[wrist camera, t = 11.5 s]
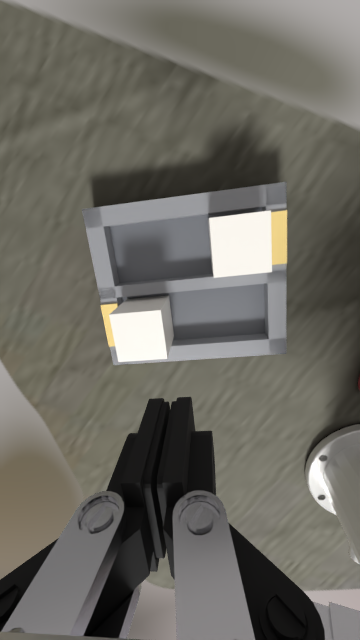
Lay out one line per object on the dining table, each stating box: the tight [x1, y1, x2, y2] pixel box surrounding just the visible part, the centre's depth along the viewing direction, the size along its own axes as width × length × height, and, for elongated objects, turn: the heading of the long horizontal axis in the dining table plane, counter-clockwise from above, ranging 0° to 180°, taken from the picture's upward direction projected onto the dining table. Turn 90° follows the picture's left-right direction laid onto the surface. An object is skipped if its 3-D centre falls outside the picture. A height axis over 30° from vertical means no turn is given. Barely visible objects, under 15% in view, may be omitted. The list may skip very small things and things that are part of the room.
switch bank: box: [82, 182, 287, 365], centre depth 25 cm, size 14×16×3 cm
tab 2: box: [208, 210, 272, 278], centre depth 21 cm, size 4×4×5 cm
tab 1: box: [109, 295, 174, 362], centre depth 24 cm, size 4×4×5 cm
